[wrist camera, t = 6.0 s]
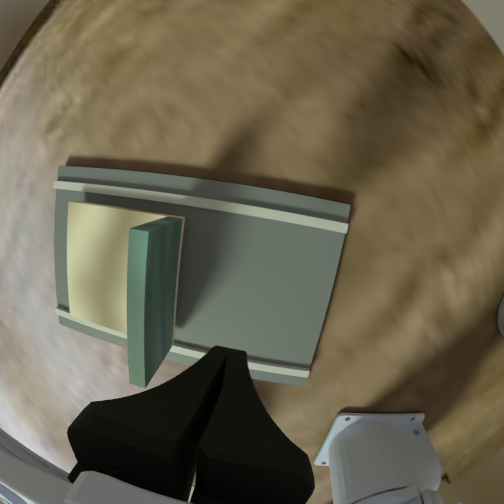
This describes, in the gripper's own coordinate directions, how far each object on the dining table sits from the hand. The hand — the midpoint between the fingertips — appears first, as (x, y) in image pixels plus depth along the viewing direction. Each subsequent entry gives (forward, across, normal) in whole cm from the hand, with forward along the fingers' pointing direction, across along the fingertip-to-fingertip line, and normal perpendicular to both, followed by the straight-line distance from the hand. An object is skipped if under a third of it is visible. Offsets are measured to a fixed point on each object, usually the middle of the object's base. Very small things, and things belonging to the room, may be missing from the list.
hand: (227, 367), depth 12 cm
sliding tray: (+8, +9, 0) cm, 12 cm away
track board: (+9, +6, 0) cm, 11 cm away
